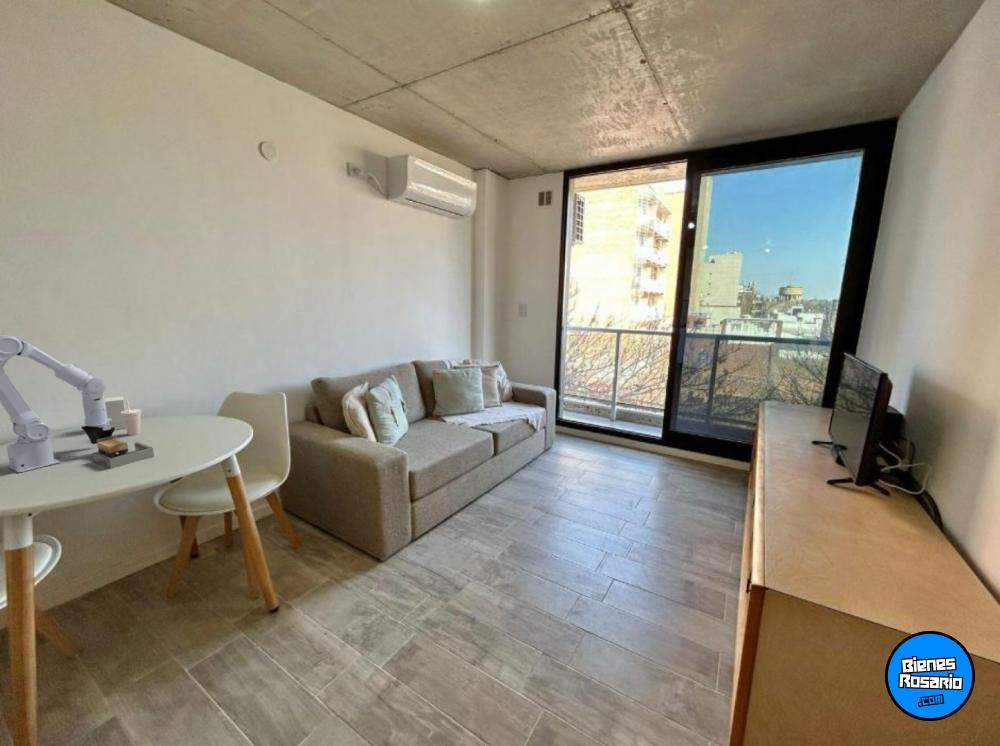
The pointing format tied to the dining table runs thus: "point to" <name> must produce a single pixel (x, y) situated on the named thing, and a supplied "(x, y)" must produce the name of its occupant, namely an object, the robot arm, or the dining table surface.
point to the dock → (125, 456)
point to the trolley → (111, 446)
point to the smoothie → (132, 420)
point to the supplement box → (115, 411)
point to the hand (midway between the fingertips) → (100, 445)
